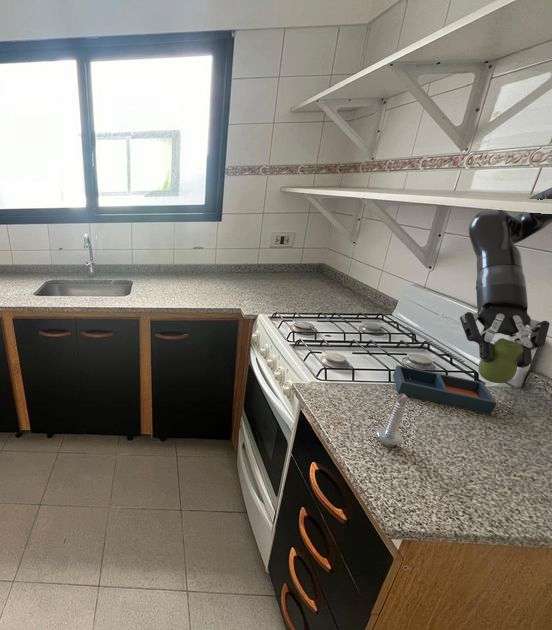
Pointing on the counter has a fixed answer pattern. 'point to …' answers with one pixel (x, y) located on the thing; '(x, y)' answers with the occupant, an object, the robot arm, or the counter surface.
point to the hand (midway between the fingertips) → (505, 363)
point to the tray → (444, 389)
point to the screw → (393, 425)
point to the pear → (501, 362)
